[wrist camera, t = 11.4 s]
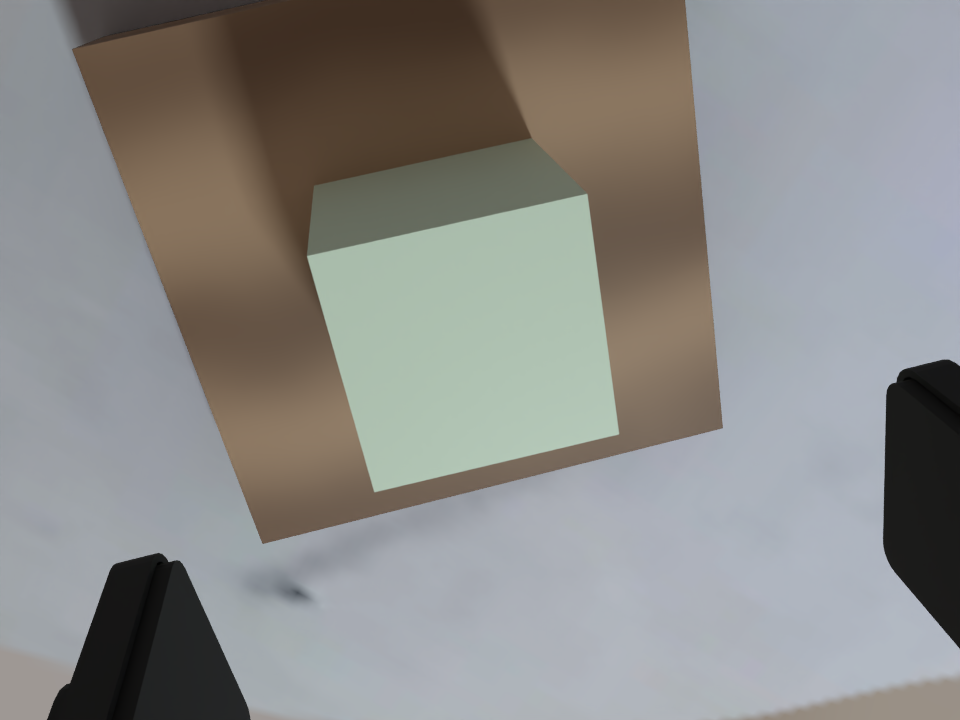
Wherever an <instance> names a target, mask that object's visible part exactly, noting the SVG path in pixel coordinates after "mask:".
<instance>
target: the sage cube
mask: <svg viewBox="0 0 960 720" xmlns="http://www.w3.org/2000/svg"><path fill="white" fill-rule="evenodd" d="M307 258H308V262H309V265H310V269H311V272H312V276H313V279H314V283H315V286H316V290H317V293H318V297H319V300H320V304H321V307H322V311H323V314H324V318H325V321H326V325H327V328H328V332H329V335H330V339H331V342H332V346H333V349H334V353H335V356H336V360H337V363H338V367H339V370H340V374H341V377H342V381H343V384H344V388H345V391H346V395H347V398H348V402H349V405H350V409H351V412H352V416H353V419H354V423H355V426H356V430H357V433H358V437H359V440H360V444H361V447H362V451H363V454H364V458H365V461H366V465H367V468H368V472H369V475H370V479H371V482H372V486H373V489H374V492H378V491H382V490H386V489H391V488H395V487H399V486H403V485H408V484H412V483H416V482H420V481H424V480H429V479H433V478H437V477H441V476H446V475H450V474H454V473H458V472H462V471H467V470H471V469H475V468H479V467H484V466H488V465H492V464H496V463H500V462H505V461H509V460H513V459H517V458H522V457H526V456H530V455H534V454H538V453H543V452H547V451H551V450H555V449H559V448H564V447H568V446H572V445H576V444H581V443H585V442H589V441H593V440H597V439H602V438H606V437H610V436H614V435H619V429H618V422H617V414H616V406H615V399H614V391H613V384H612V376H611V369H610V361H609V353H608V346H607V338H606V331H605V323H604V316H603V308H602V301H601V293H600V285H599V278H598V270H597V263H596V255H595V248H594V240H593V232H592V225H591V217H590V210H589V202H588V195H587V193H586V192H585V191H584V190H583V189H582V188H581V187H580V186H579V185H578V184H577V183H576V182H575V181H574V180H573V179H572V178H571V177H570V176H569V175H568V174H567V173H566V172H565V171H564V170H563V169H562V168H561V167H560V166H559V165H558V164H557V163H556V162H555V161H554V160H553V159H552V158H551V157H550V156H549V155H548V154H547V153H546V152H545V151H544V150H543V149H542V148H541V147H540V146H539V145H538V144H537V143H536V142H535V141H534V140H533V139H532V138H530V139H525V140H521V141H516V142H511V143H507V144H502V145H498V146H493V147H489V148H484V149H479V150H475V151H470V152H466V153H461V154H457V155H452V156H447V157H443V158H438V159H434V160H429V161H424V162H420V163H415V164H411V165H406V166H402V167H397V168H392V169H388V170H383V171H379V172H374V173H370V174H365V175H360V176H356V177H351V178H347V179H342V180H338V181H333V182H328V183H324V184H319V185H315V186H314V190H313V200H312V210H311V220H310V230H309V240H308V250H307Z"/></svg>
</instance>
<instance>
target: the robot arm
mask: <svg viewBox="0 0 960 720" xmlns="http://www.w3.org/2000/svg"><path fill="white" fill-rule="evenodd" d="M883 545H884V551H885V554H886V557H887V560H888V562H889V564H890V566H891V567H892V569H893V570H894V572H895V573H896V574H897V575H898V576H899V578H900V579H901V580H902V581H903V582H904V583H905V585H906V586H907V587H908V588H909V589H910V591H911V592H912V593H913V594H914V595H915V596H916V598H917V599H918V600H919V601H920V602H921V603H922V605H923V606H924V607H925V608H926V609H927V611H928V612H929V613H930V614H931V615H932V616H933V618H934V619H935V620H936V621H937V622H938V623H939V625H940V626H941V627H942V628H943V629H944V630H945V632H946V633H947V634H948V635H949V636H950V638H951V639H952V640H953V641H954V642H955V643H956V645H957V646H958V647H959V648H960V366H959V365H958V364H956V363H955V362H953V361H950V360H940V361H936V362H932V363H928V364H923V365H919V366H915V367H911V368H907V369H904V370H902V371H901V372H900V373H899V375H898V377H897V383H893V384H891V385H890V386H889V387H888V389H887V395H886V435H885V481H884V527H883ZM47 720H250V714H249V710H248V707H247V704H246V702H245V699H244V697H243V695H242V693H241V691H240V688H239V686H238V684H237V682H236V680H235V677H234V675H233V673H232V671H231V669H230V666H229V664H228V662H227V660H226V657H225V655H224V653H223V651H222V649H221V646H220V644H219V642H218V640H217V638H216V635H215V633H214V631H213V629H212V627H211V624H210V622H209V620H208V618H207V616H206V613H205V611H204V609H203V607H202V605H201V602H200V600H199V598H198V596H197V594H196V591H195V589H194V587H193V585H192V583H191V580H190V578H189V576H188V574H187V571H186V569H185V567H184V566H183V564H182V563H181V562H180V561H177V560H176V561H172V562H168V560H167V559H166V557H165V556H164V555H163V554H160V553H157V554H153V555H148V556H144V557H140V558H136V559H132V560H128V561H124V562H120V563H116V564H115V565H113V566H112V568H111V570H110V572H109V575H108V578H107V580H106V583H105V586H104V589H103V592H102V595H101V597H100V600H99V603H98V606H97V609H96V612H95V615H94V617H93V620H92V623H91V626H90V629H89V632H88V634H87V637H86V640H85V643H84V646H83V649H82V651H81V654H80V657H79V660H78V663H77V666H76V668H75V671H74V674H73V677H72V680H71V683H70V684H66V685H65V686H64V687H63V688H62V689H61V690H60V691H59V693H58V694H57V696H56V698H55V700H54V703H53V705H52V708H51V711H50V713H49V716H48V719H47Z"/></svg>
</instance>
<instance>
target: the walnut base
mask: <svg viewBox="0 0 960 720" xmlns="http://www.w3.org/2000/svg"><path fill="white" fill-rule="evenodd" d="M72 50H73V53H74V55H75V58H76V61H77V63H78V66H79V68H80V71H81V74H82V76H83V79H84V81H85V84H86V87H87V89H88V92H89V94H90V97H91V100H92V102H93V105H94V107H95V110H96V113H97V115H98V118H99V120H100V123H101V126H102V128H103V131H104V133H105V136H106V138H107V141H108V144H109V146H110V149H111V151H112V154H113V157H114V159H115V162H116V164H117V167H118V170H119V172H120V175H121V177H122V180H123V183H124V185H125V188H126V190H127V193H128V196H129V198H130V201H131V203H132V206H133V209H134V211H135V214H136V216H137V219H138V222H139V224H140V227H141V229H142V232H143V235H144V237H145V240H146V242H147V245H148V248H149V250H150V253H151V255H152V258H153V261H154V263H155V266H156V268H157V271H158V273H159V276H160V279H161V281H162V284H163V286H164V289H165V292H166V294H167V297H168V299H169V302H170V305H171V307H172V310H173V312H174V315H175V318H176V320H177V323H178V325H179V328H180V331H181V333H182V336H183V338H184V341H185V344H186V346H187V349H188V351H189V354H190V357H191V359H192V362H193V364H194V367H195V370H196V372H197V375H198V377H199V380H200V383H201V385H202V388H203V390H204V393H205V396H206V398H207V401H208V403H209V406H210V409H211V411H212V414H213V416H214V419H215V421H216V424H217V427H218V429H219V432H220V434H221V437H222V440H223V442H224V445H225V447H226V450H227V453H228V455H229V458H230V460H231V463H232V466H233V468H234V471H235V473H236V476H237V479H238V481H239V484H240V486H241V489H242V492H243V494H244V497H245V499H246V502H247V505H248V507H249V510H250V512H251V515H252V518H253V520H254V523H255V525H256V528H257V531H258V533H259V536H260V538H261V541H262V544H264V543H268V542H272V541H276V540H280V539H284V538H288V537H292V536H296V535H300V534H304V533H308V532H312V531H316V530H320V529H324V528H328V527H332V526H336V525H340V524H344V523H348V522H352V521H356V520H360V519H363V518H367V517H371V516H375V515H379V514H383V513H387V512H391V511H395V510H399V509H403V508H407V507H411V506H415V505H419V504H423V503H427V502H431V501H435V500H439V499H443V498H447V497H451V496H455V495H459V494H463V493H467V492H471V491H475V490H479V489H483V488H487V487H491V486H495V485H499V484H503V483H507V482H511V481H515V480H519V479H523V478H527V477H531V476H534V475H538V474H542V473H546V472H550V471H554V470H558V469H562V468H566V467H570V466H574V465H578V464H582V463H586V462H590V461H594V460H598V459H602V458H606V457H610V456H614V455H618V454H622V453H626V452H630V451H634V450H638V449H642V448H646V447H650V446H654V445H658V444H662V443H666V442H670V441H674V440H678V439H682V438H686V437H690V436H694V435H698V434H701V433H705V432H709V431H713V430H717V429H721V428H723V425H722V414H721V403H720V391H719V380H718V369H717V357H716V346H715V335H714V323H713V312H712V301H711V290H710V278H709V267H708V256H707V244H706V233H705V222H704V211H703V199H702V188H701V177H700V165H699V154H698V143H697V131H696V120H695V109H694V98H693V86H692V75H691V64H690V52H689V41H688V30H687V18H686V7H685V0H265V1H261V2H256V3H252V4H248V5H243V6H239V7H234V8H230V9H225V10H221V11H216V12H212V13H207V14H203V15H199V16H194V17H190V18H185V19H181V20H176V21H172V22H167V23H163V24H158V25H154V26H149V27H145V28H141V29H136V30H132V31H127V32H123V33H118V34H114V35H109V36H105V37H102V38H99V39H97V40H94V41H92V42H89V43H87V44H84V45H82V46H79V47H77V48H74V49H72ZM530 138H532V139H533V140H534V141H535V142H536V143H537V144H538V145H539V146H540V147H541V148H542V149H543V150H544V151H545V152H546V153H547V154H548V155H549V156H550V157H551V158H552V159H553V160H554V161H555V162H556V163H557V164H558V165H559V166H560V167H561V168H562V169H563V170H564V171H565V172H566V173H567V174H568V175H569V176H570V177H571V178H572V179H573V180H574V181H575V182H576V183H577V184H578V185H579V186H580V187H581V188H582V189H583V190H584V191H585V192H586V193H587V195H588V202H589V210H590V217H591V225H592V232H593V240H594V248H595V255H596V263H597V270H598V278H599V285H600V293H601V301H602V308H603V316H604V323H605V331H606V338H607V346H608V353H609V361H610V369H611V376H612V384H613V391H614V399H615V406H616V414H617V422H618V429H619V435H614V436H610V437H606V438H602V439H597V440H593V441H589V442H585V443H581V444H576V445H572V446H568V447H564V448H559V449H555V450H551V451H547V452H543V453H538V454H534V455H530V456H526V457H522V458H517V459H513V460H509V461H505V462H500V463H496V464H492V465H488V466H484V467H479V468H475V469H471V470H467V471H462V472H458V473H454V474H450V475H446V476H441V477H437V478H433V479H429V480H424V481H420V482H416V483H412V484H408V485H403V486H399V487H395V488H391V489H386V490H382V491H378V492H374V489H373V486H372V482H371V479H370V475H369V472H368V468H367V465H366V461H365V458H364V454H363V451H362V447H361V444H360V440H359V437H358V433H357V430H356V426H355V423H354V419H353V416H352V412H351V409H350V405H349V402H348V398H347V395H346V391H345V388H344V384H343V381H342V377H341V374H340V370H339V367H338V363H337V360H336V356H335V353H334V349H333V346H332V342H331V339H330V335H329V332H328V328H327V325H326V321H325V318H324V314H323V311H322V307H321V304H320V300H319V297H318V293H317V290H316V286H315V283H314V279H313V276H312V272H311V269H310V265H309V262H308V258H307V250H308V240H309V230H310V220H311V210H312V200H313V190H314V186H315V185H319V184H324V183H328V182H333V181H338V180H342V179H347V178H351V177H356V176H360V175H365V174H370V173H374V172H379V171H383V170H388V169H392V168H397V167H402V166H406V165H411V164H415V163H420V162H424V161H429V160H434V159H438V158H443V157H447V156H452V155H457V154H461V153H466V152H470V151H475V150H479V149H484V148H489V147H493V146H498V145H502V144H507V143H511V142H516V141H521V140H525V139H530Z"/></svg>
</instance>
